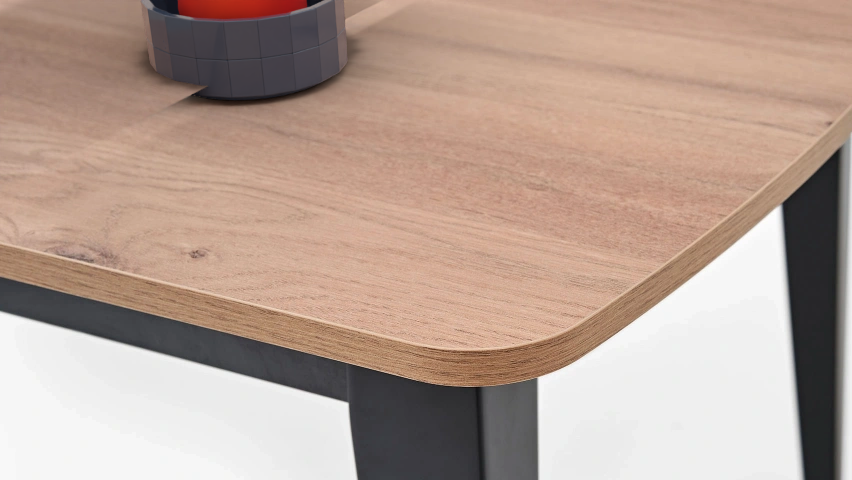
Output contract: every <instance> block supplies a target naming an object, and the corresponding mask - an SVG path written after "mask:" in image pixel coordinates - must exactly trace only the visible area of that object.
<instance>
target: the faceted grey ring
mask: <svg viewBox="0 0 852 480" xmlns="http://www.w3.org/2000/svg"><path fill="white" fill-rule="evenodd" d="M140 6H141V12H142V20H143V27H144V32H145V33H144V34H145V39H146V40H145V41H146V46H147V54H148V59H149V64H150V66H151V67H152V68H153V70H154V71H155V72H156V73H157V74H159V75H161V76H163V77H165V78H167V79H170V80H172V81H174V82H180V83H185V84H190V85H195V86H201V87H203V86H204V87H203V88H202V89H200V90H197V91H196V92H193V93H191V94H190V96H193V97H196V98H203V99H210V100H218V101H252V100H262V99H263V100H264V99H270V98H271V99H272V98H277V97H282V96H287V95H293V94H296V93H299V92H302V91H305V90H308V89H310V88H313V87H315V86H317V85H320V84H321V83H323V82H325V81H327V80H328V79H331V78H332V77H334V76H337V74H339V73H340V72H341V71H342V70H343V68H344V67H345V66H346V65H347V64H348V45H347V44H348V43H347V28H346V16H345V15H346V13H345V0H307V8H304V9H300V10H296V11H292V12H288V13H284V14H277V15H270V16H263V17H257V18H238V19H209V18H193V17H187V16H181V15H180V14H179V10H178V0H140Z"/></svg>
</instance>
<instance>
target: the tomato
mask: <svg viewBox="0 0 852 480" xmlns="http://www.w3.org/2000/svg"><path fill="white" fill-rule="evenodd" d="M304 8H307V0H178V10H179V14H180V15H181V16H187V17H193V18H209V19H238V18H257V17H263V16H270V15H277V14H284V13H288V12H292V11H296V10H300V9H304Z"/></svg>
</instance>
